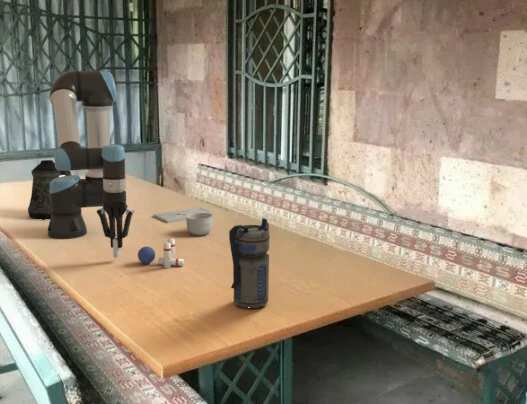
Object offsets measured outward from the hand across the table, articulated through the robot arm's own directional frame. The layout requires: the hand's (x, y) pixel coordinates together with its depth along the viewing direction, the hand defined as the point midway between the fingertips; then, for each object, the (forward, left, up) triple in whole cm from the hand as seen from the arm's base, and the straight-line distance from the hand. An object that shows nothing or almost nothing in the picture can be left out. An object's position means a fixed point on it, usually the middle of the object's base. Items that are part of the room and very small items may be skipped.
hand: (117, 256), depth 215 cm
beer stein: (-55, +58, -2) cm, 80 cm away
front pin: (+15, 0, -1) cm, 15 cm away
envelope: (+5, +69, -3) cm, 69 cm away
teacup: (+19, +43, -2) cm, 47 cm away
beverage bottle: (+52, -30, -2) cm, 60 cm away
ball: (+11, 0, +1) cm, 11 cm away
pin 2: (+19, +2, -2) cm, 19 cm away
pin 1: (+19, -2, -2) cm, 19 cm away
